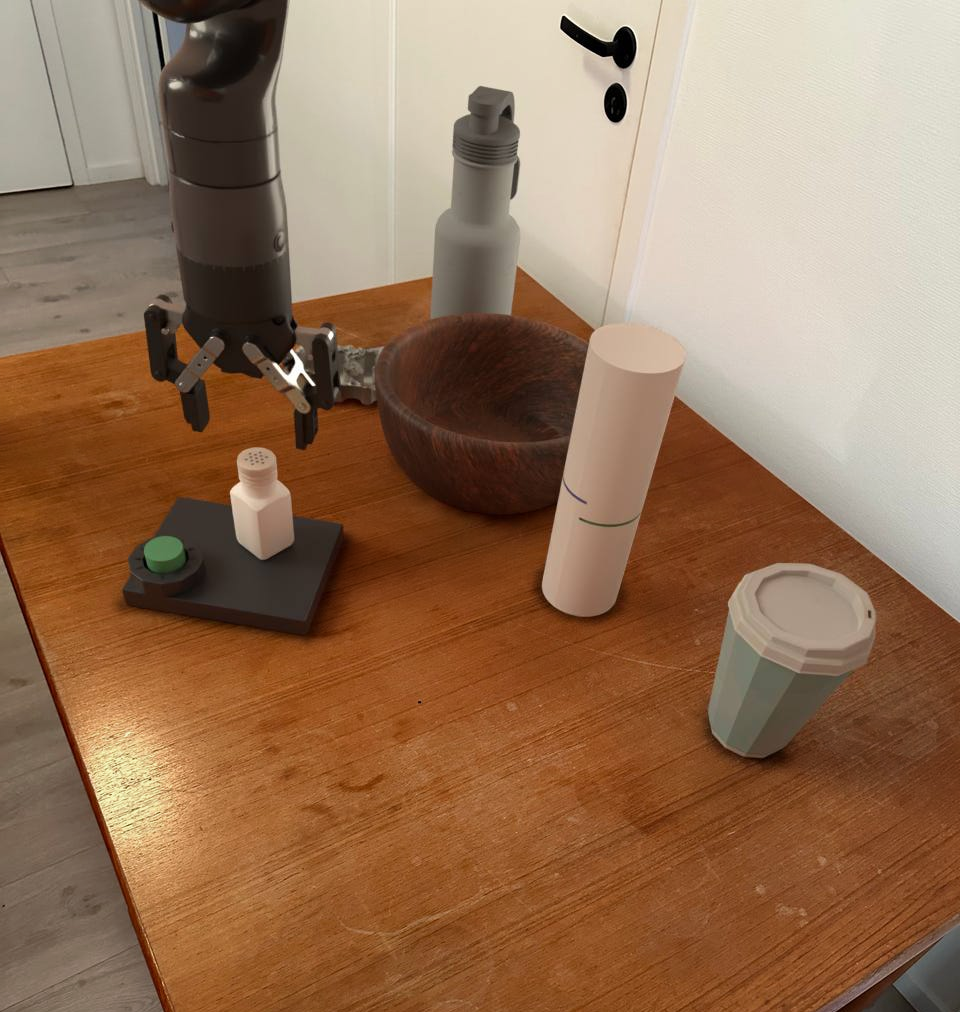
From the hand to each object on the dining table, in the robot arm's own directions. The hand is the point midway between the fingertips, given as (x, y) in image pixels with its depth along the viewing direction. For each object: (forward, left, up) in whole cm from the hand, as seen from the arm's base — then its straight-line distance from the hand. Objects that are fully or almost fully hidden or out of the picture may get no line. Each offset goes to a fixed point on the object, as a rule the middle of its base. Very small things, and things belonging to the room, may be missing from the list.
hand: (252, 435), depth 73 cm
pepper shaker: (0, 0, -12) cm, 12 cm away
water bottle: (+12, +44, -14) cm, 48 cm away
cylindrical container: (+29, +3, -14) cm, 32 cm away
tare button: (-7, -6, -11) cm, 14 cm away
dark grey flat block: (-2, -2, -14) cm, 14 cm away
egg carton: (-1, +30, -14) cm, 33 cm away
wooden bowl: (+18, +21, -14) cm, 31 cm away
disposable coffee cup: (+44, -10, -14) cm, 47 cm away
